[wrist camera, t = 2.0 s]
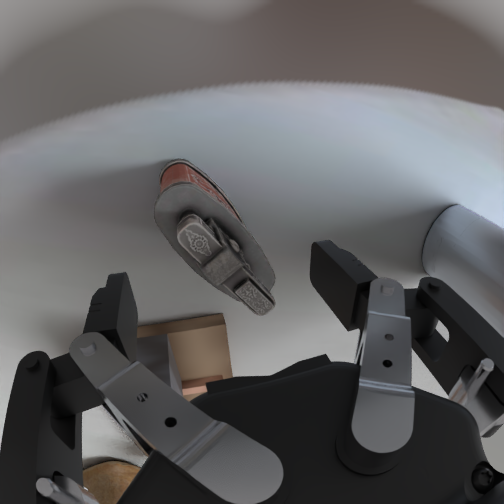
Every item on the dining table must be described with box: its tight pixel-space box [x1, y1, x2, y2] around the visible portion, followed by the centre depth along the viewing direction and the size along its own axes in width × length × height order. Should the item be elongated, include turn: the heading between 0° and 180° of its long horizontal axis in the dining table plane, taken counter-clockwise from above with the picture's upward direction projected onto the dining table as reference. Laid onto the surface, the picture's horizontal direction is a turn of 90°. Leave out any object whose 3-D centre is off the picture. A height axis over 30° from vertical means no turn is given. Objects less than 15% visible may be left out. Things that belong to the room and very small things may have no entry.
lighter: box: [154, 159, 275, 316], centre depth 17 cm, size 8×3×10 cm, turn 36°
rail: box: [136, 313, 233, 401], centre depth 28 cm, size 13×26×8 cm, turn 1°
